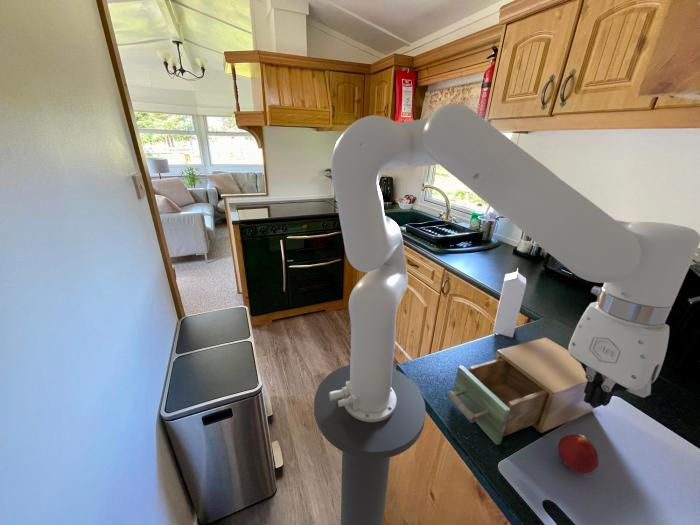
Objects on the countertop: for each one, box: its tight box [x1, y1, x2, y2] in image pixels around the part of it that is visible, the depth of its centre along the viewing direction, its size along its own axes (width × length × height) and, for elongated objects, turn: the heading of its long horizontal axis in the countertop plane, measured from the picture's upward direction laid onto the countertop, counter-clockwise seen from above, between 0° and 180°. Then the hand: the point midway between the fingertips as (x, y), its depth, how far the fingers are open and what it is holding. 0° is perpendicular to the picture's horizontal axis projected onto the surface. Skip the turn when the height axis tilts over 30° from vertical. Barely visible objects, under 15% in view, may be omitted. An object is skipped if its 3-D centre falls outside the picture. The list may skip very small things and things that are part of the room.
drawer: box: [446, 358, 549, 446], centre depth 63 cm, size 20×13×9 cm, turn 111°
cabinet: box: [494, 337, 607, 434], centre depth 68 cm, size 17×14×11 cm
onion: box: [557, 433, 600, 475], centre depth 53 cm, size 6×6×8 cm
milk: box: [492, 267, 527, 338], centre depth 93 cm, size 6×6×22 cm
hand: (594, 402), depth 49 cm, fingers closed
